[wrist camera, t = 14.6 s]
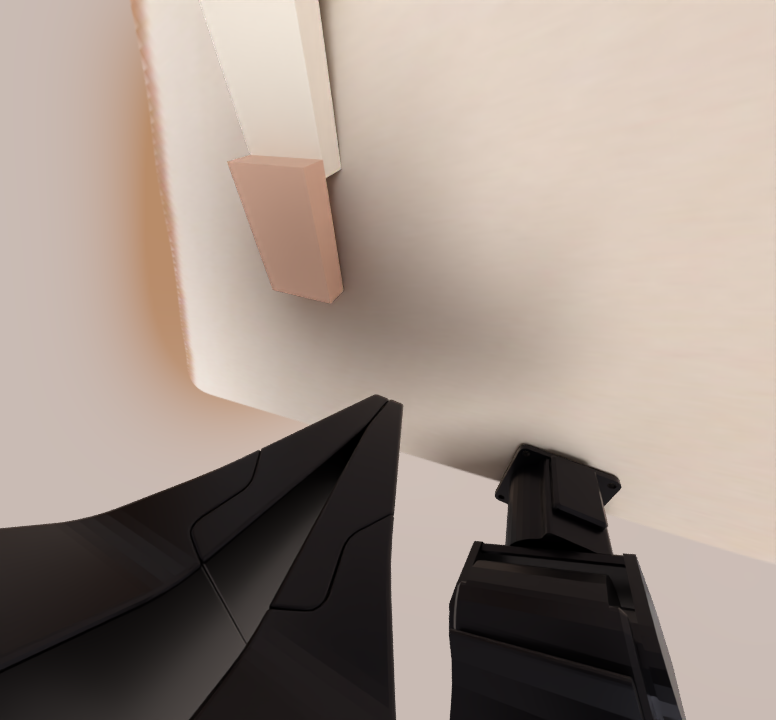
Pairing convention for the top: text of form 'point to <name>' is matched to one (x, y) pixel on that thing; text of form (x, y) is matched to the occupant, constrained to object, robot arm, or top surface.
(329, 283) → the domino
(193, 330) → the top surface
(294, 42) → the domino
